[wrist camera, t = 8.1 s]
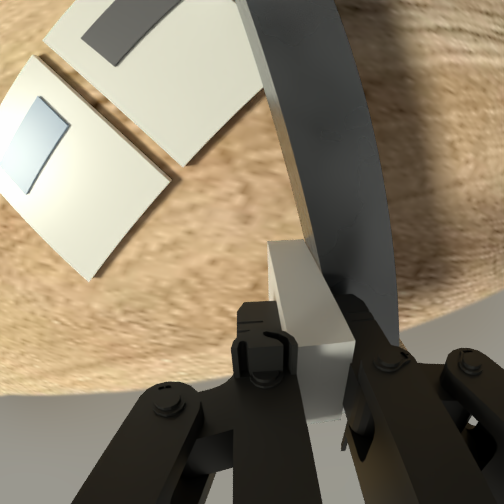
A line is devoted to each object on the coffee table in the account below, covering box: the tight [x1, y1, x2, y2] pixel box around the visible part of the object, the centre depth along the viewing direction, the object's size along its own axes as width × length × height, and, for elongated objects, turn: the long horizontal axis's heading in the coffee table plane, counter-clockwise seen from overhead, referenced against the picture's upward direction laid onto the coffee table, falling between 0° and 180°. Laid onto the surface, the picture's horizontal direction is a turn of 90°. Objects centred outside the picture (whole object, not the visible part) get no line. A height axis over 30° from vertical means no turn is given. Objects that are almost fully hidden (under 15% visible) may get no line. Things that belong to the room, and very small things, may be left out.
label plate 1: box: [42, 0, 263, 167], centre depth 13 cm, size 8×12×1 cm, turn 45°
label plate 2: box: [0, 55, 172, 282], centre depth 15 cm, size 8×12×1 cm, turn 45°
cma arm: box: [235, 0, 407, 413], centre depth 9 cm, size 25×4×4 cm, turn 16°
